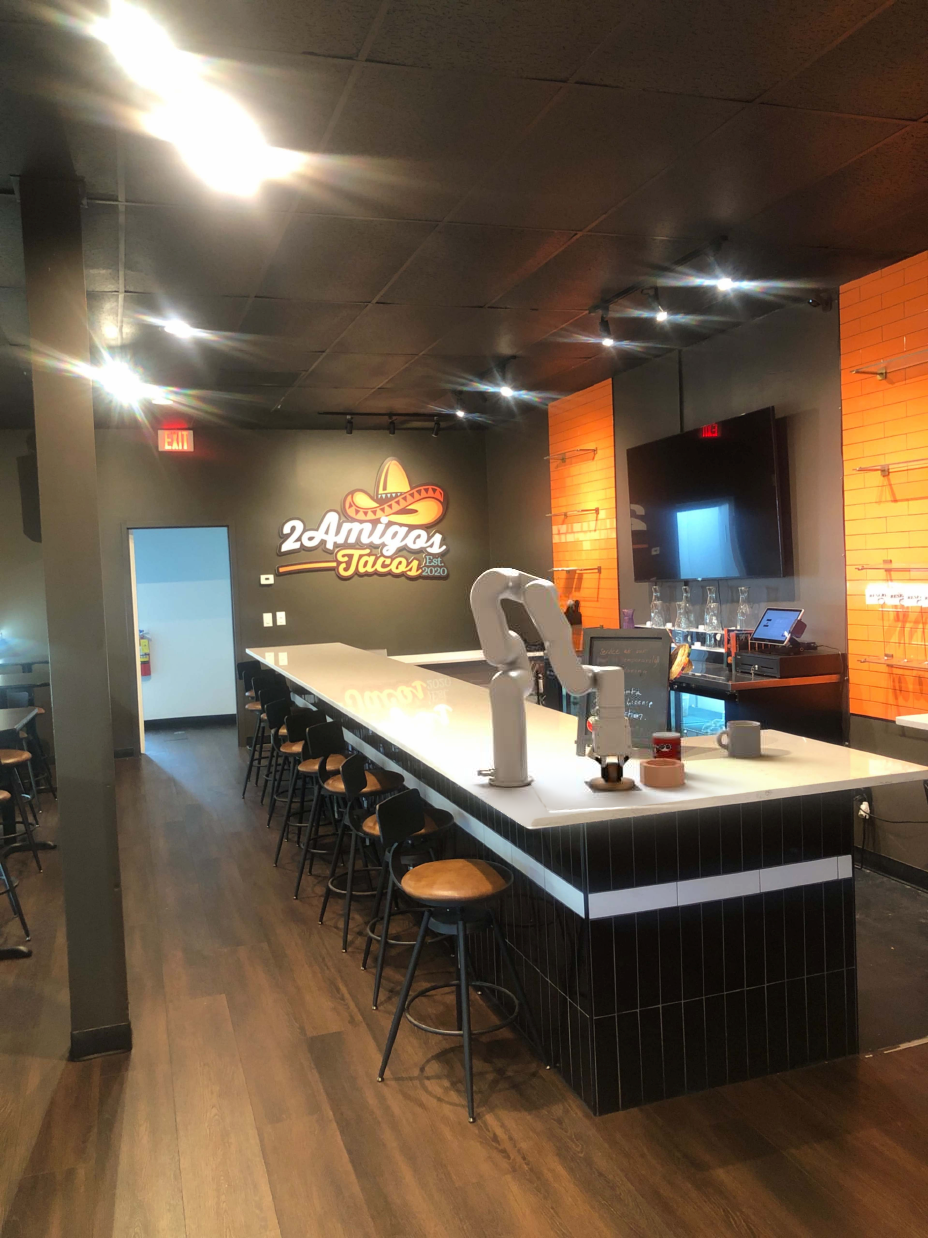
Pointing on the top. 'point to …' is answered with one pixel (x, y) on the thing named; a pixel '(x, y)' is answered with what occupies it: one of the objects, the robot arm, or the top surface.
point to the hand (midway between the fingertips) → (612, 779)
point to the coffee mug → (741, 739)
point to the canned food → (667, 745)
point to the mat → (611, 791)
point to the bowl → (662, 773)
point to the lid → (612, 780)
